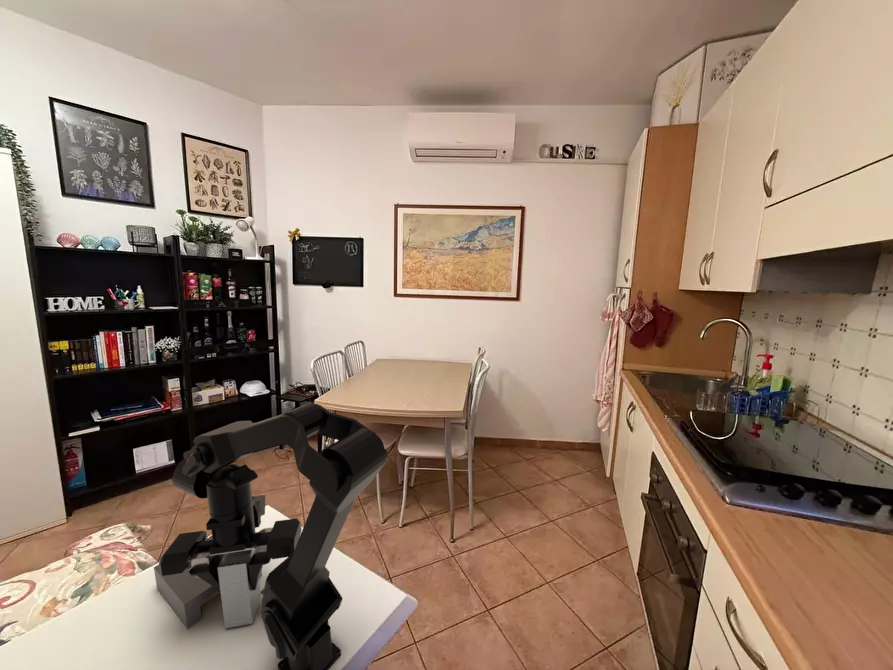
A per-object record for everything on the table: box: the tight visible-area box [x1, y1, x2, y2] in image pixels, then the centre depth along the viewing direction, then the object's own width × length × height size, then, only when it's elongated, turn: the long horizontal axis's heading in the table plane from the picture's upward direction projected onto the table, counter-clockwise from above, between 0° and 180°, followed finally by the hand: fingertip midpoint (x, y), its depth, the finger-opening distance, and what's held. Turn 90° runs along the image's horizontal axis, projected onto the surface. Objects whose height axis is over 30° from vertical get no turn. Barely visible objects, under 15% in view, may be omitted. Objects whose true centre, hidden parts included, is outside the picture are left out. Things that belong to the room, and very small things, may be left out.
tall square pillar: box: [218, 550, 261, 629], centre depth 56 cm, size 4×4×11 cm
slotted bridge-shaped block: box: [153, 534, 263, 629], centre depth 63 cm, size 13×12×4 cm
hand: (240, 590), depth 56 cm, fingers closed on tall square pillar, 4 cm apart
